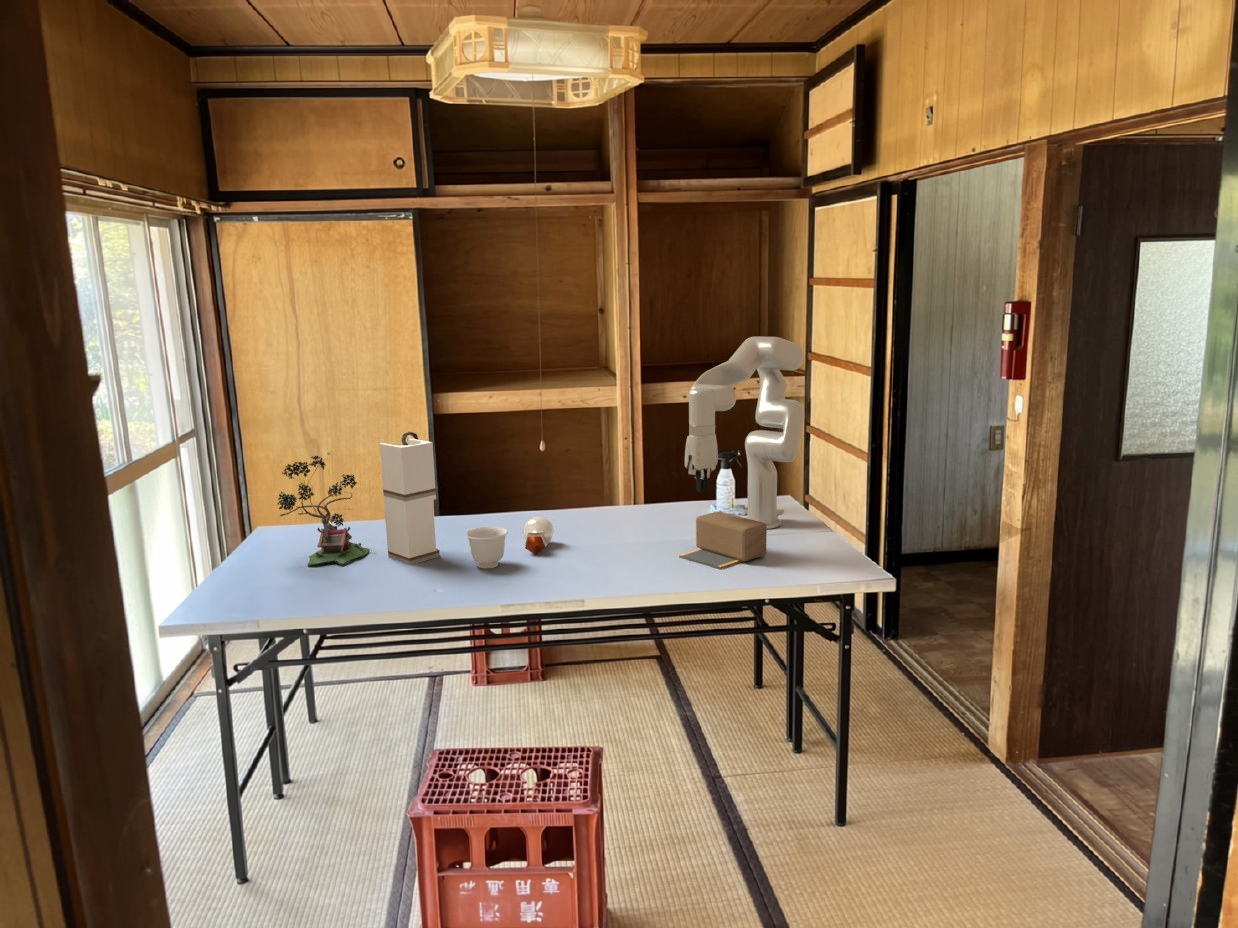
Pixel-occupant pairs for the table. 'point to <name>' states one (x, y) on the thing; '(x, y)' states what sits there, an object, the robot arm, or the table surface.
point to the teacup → (487, 545)
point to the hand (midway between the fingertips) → (702, 491)
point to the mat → (710, 558)
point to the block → (731, 535)
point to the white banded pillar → (409, 500)
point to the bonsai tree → (325, 520)
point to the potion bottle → (537, 534)
